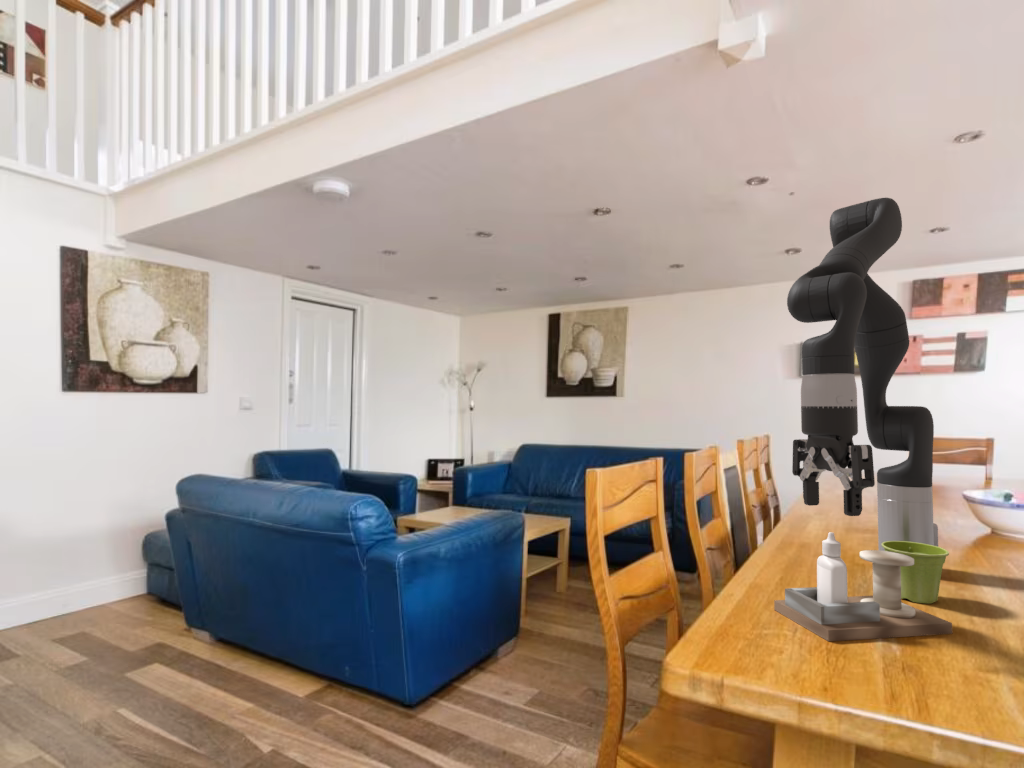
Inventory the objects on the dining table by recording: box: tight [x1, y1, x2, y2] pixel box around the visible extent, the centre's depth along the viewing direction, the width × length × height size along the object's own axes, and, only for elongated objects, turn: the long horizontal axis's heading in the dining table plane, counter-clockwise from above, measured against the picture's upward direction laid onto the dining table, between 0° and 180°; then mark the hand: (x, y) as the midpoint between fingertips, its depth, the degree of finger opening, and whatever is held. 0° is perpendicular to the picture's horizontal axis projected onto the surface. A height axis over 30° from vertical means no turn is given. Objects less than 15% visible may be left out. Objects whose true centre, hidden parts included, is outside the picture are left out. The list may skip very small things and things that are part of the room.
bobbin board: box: [773, 549, 953, 642], centre depth 84 cm, size 20×12×10 cm, turn 99°
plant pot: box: [881, 541, 950, 605], centre depth 94 cm, size 9×9×9 cm
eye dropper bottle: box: [816, 531, 849, 604], centre depth 83 cm, size 4×6×12 cm
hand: (830, 510), depth 84 cm, fingers open, 8 cm apart
